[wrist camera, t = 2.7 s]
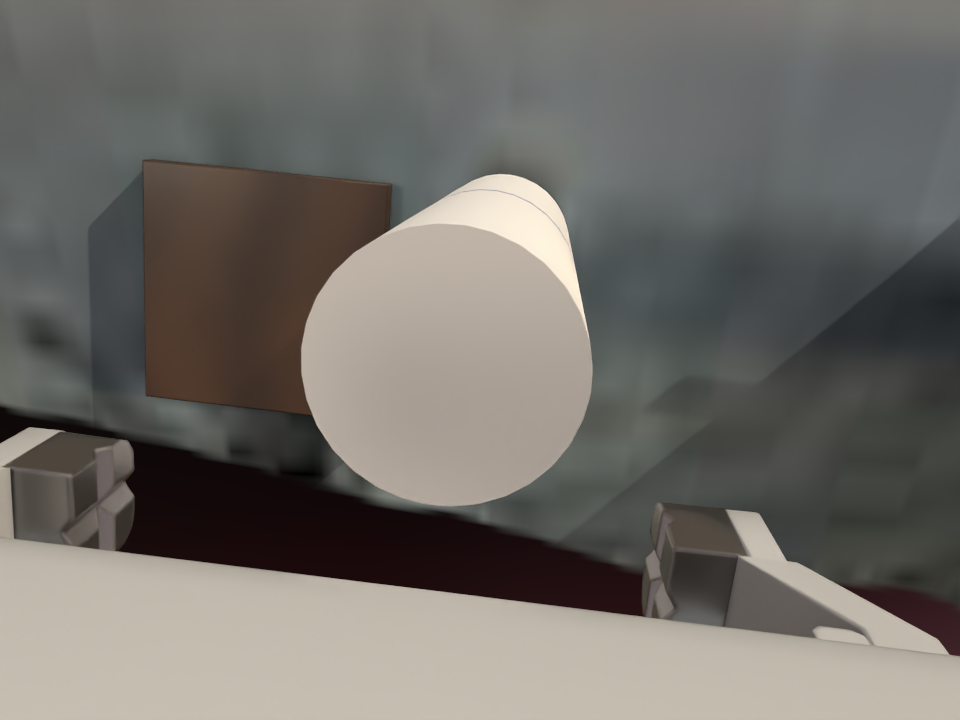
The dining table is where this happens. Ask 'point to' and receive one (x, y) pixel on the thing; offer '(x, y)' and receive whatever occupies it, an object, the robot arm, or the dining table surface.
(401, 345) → the cylindrical container
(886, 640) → the robot arm
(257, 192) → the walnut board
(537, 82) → the dining table surface
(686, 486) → the dining table surface
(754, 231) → the dining table surface
